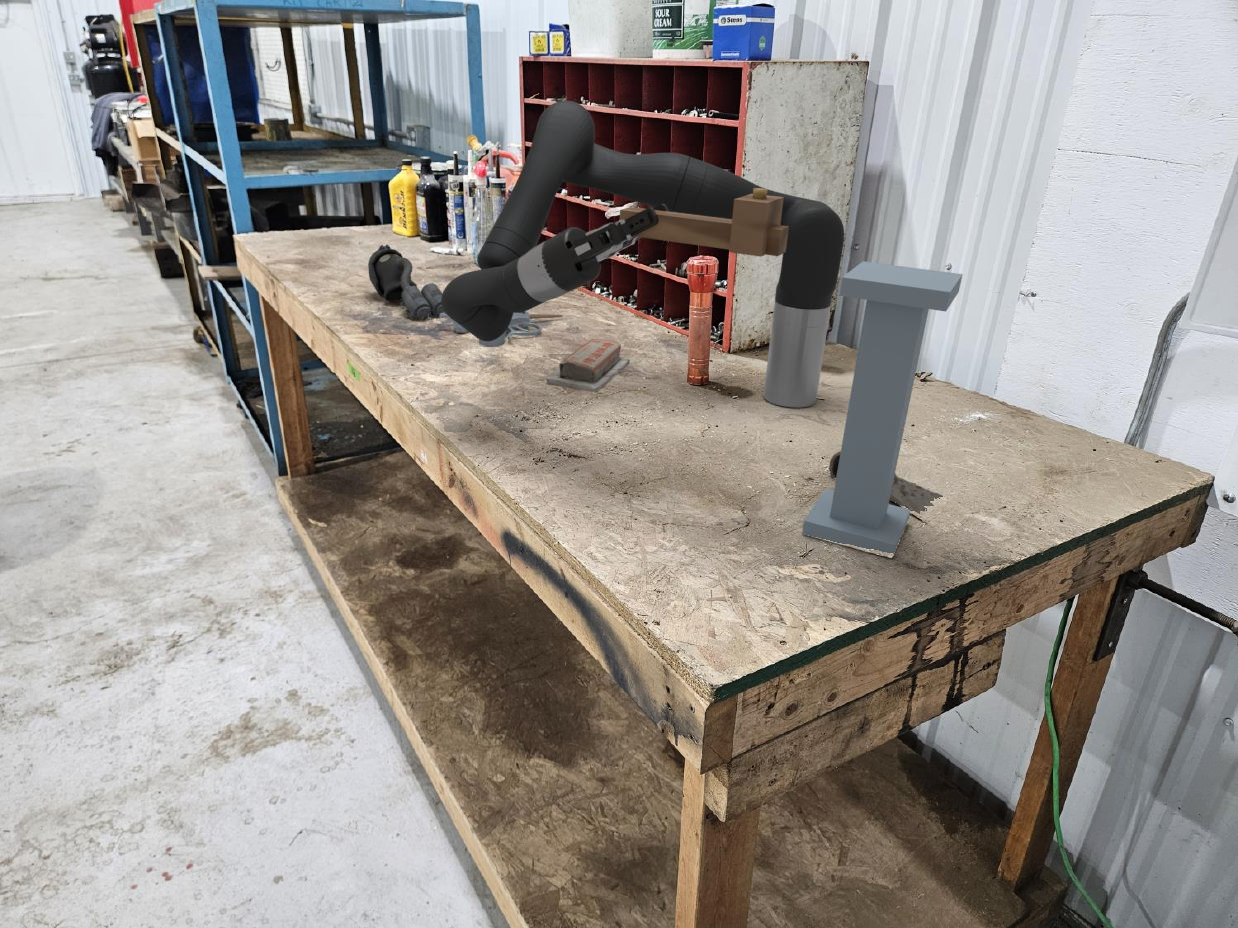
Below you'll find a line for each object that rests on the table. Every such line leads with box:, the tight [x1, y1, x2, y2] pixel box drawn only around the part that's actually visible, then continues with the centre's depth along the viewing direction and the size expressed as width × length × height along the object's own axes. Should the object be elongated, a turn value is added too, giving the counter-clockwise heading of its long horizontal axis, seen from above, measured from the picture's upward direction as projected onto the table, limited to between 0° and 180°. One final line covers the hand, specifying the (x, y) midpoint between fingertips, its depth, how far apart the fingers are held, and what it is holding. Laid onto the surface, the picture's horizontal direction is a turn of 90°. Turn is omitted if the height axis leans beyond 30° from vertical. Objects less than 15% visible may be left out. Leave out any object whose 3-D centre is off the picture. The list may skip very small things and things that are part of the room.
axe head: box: [828, 450, 944, 514], centre depth 110 cm, size 20×5×10 cm
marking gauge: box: [619, 188, 789, 257], centre depth 98 cm, size 6×21×7 cm, turn 62°
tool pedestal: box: [801, 261, 963, 554], centre depth 95 cm, size 10×11×32 cm
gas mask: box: [367, 244, 446, 321], centre depth 187 cm, size 15×9×26 cm
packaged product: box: [545, 338, 631, 393], centre depth 150 cm, size 18×5×10 cm
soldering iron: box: [439, 310, 564, 348], centre depth 172 cm, size 6×28×16 cm
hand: (660, 213), depth 101 cm, fingers closed on marking gauge, 3 cm apart
